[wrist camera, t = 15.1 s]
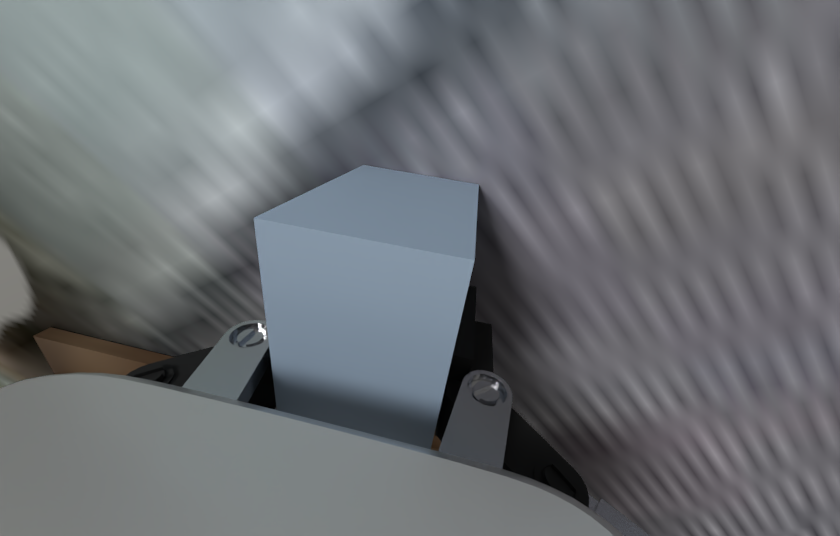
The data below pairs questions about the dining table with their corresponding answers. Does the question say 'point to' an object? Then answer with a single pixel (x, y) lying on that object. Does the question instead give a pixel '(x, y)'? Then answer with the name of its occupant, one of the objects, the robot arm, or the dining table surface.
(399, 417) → the plank
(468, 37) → the dining table surface
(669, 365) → the dining table surface
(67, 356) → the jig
